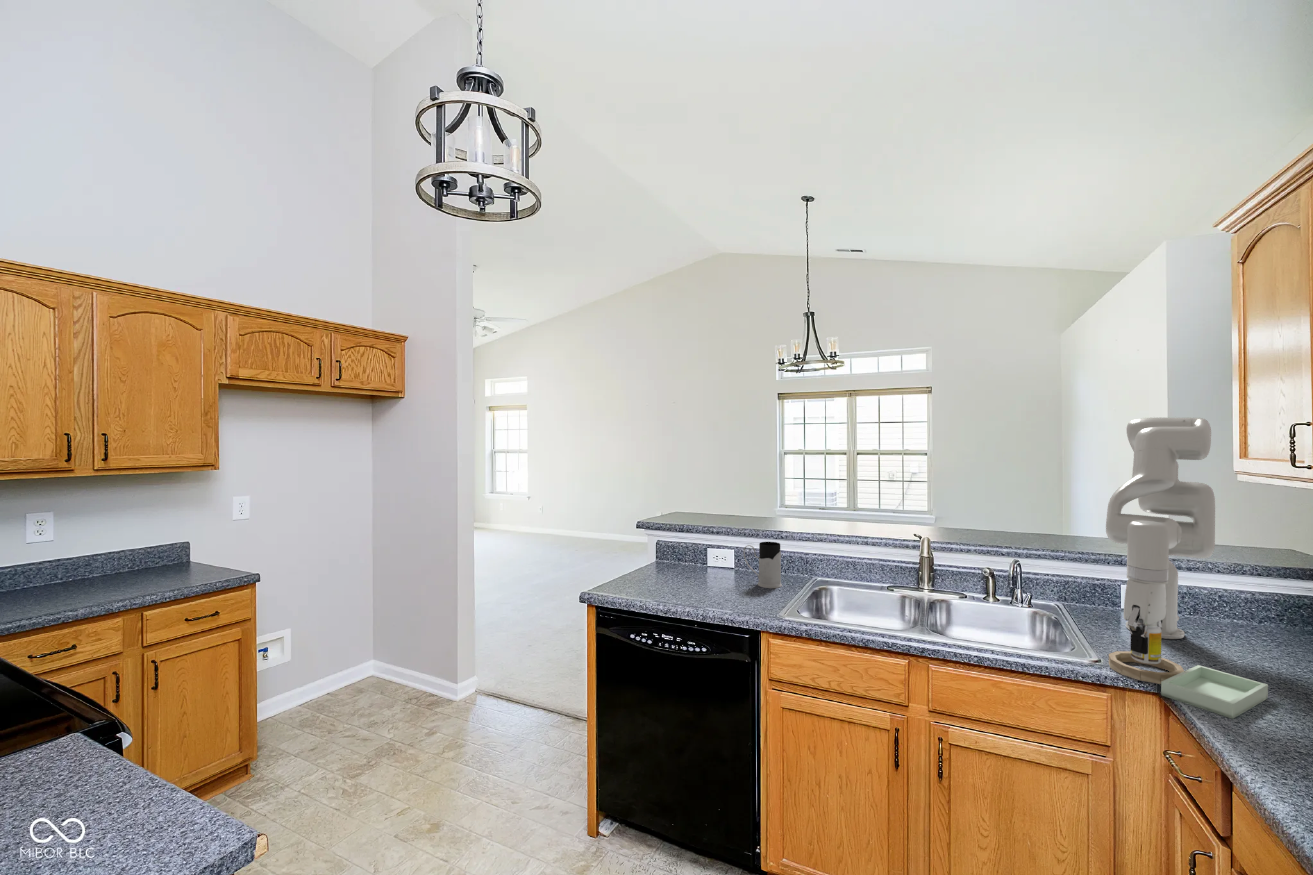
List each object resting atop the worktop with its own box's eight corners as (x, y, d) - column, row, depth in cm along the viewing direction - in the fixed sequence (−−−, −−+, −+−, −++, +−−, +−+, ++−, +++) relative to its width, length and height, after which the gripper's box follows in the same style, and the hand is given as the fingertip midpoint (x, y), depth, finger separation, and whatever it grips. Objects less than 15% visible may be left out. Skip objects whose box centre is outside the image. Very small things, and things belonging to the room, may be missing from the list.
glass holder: (778, 589, 209) (778, 547, 208) (739, 584, 215) (740, 543, 215) (784, 583, 217) (784, 542, 216) (747, 578, 223) (747, 539, 222)
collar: (1125, 656, 149) (1126, 647, 149) (1193, 676, 137) (1194, 666, 137) (1098, 666, 142) (1098, 657, 142) (1166, 688, 131) (1167, 679, 131)
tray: (1197, 677, 136) (1198, 664, 136) (1267, 698, 126) (1268, 684, 126) (1161, 695, 128) (1161, 681, 128) (1232, 718, 118) (1233, 703, 117)
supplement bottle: (1161, 659, 140) (1162, 617, 140) (1160, 667, 136) (1161, 623, 136) (1131, 653, 144) (1132, 611, 144) (1129, 660, 140) (1130, 618, 140)
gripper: (1145, 565, 147) (1144, 637, 148) (1110, 575, 139) (1108, 651, 139) (1183, 572, 140) (1182, 647, 141) (1148, 583, 132) (1147, 663, 133)
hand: (1145, 648), depth 140 cm, fingers closed on supplement bottle, 5 cm apart
